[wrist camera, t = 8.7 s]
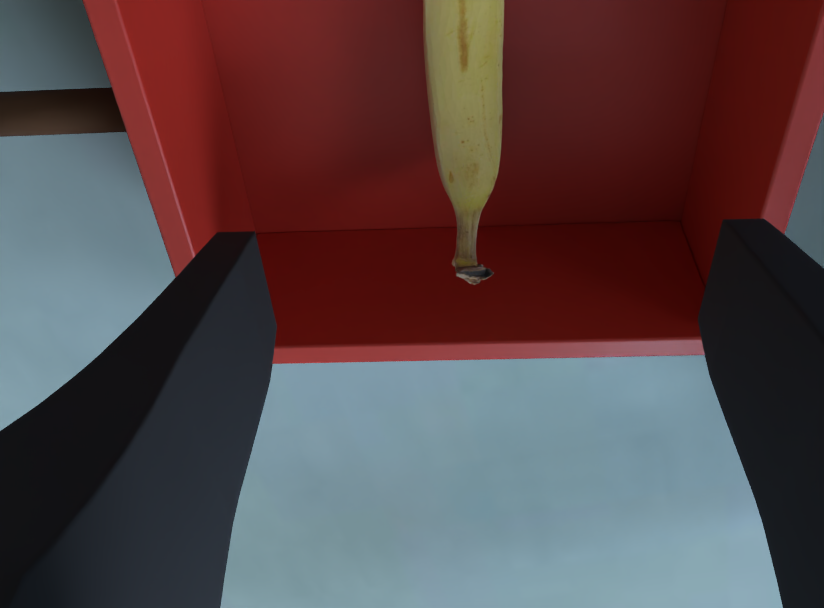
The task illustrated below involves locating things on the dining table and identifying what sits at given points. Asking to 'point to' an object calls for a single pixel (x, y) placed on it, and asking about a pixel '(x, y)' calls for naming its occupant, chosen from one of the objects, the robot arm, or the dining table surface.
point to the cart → (517, 177)
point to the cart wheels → (59, 112)
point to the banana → (465, 111)
